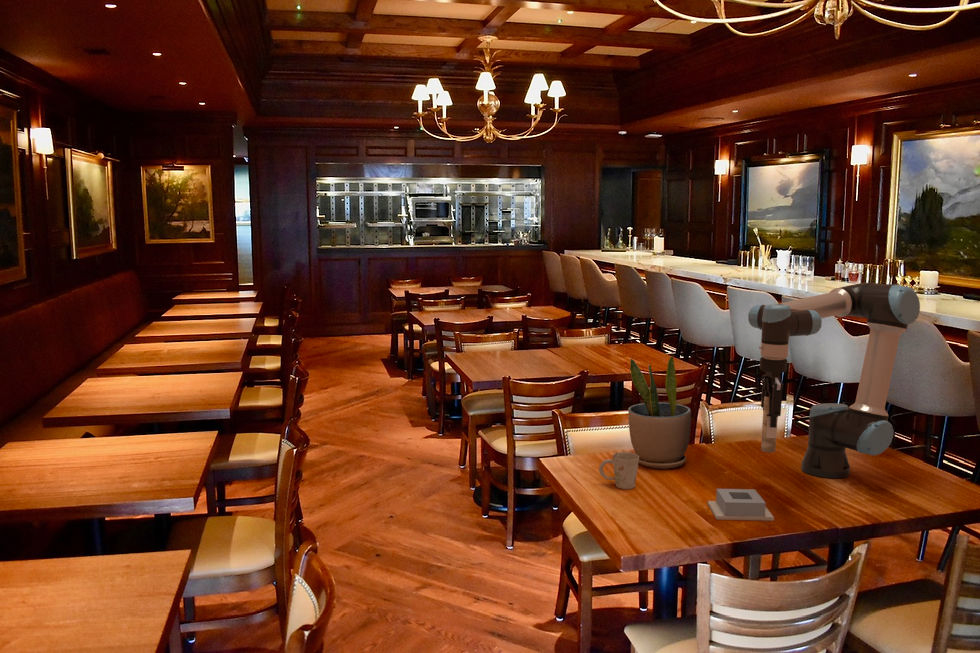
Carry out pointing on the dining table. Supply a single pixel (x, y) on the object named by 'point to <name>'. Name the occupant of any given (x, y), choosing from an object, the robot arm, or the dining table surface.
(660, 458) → the potted plant
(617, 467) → the mug
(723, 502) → the socket
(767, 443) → the peg
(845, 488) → the dining table surface
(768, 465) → the dining table surface
